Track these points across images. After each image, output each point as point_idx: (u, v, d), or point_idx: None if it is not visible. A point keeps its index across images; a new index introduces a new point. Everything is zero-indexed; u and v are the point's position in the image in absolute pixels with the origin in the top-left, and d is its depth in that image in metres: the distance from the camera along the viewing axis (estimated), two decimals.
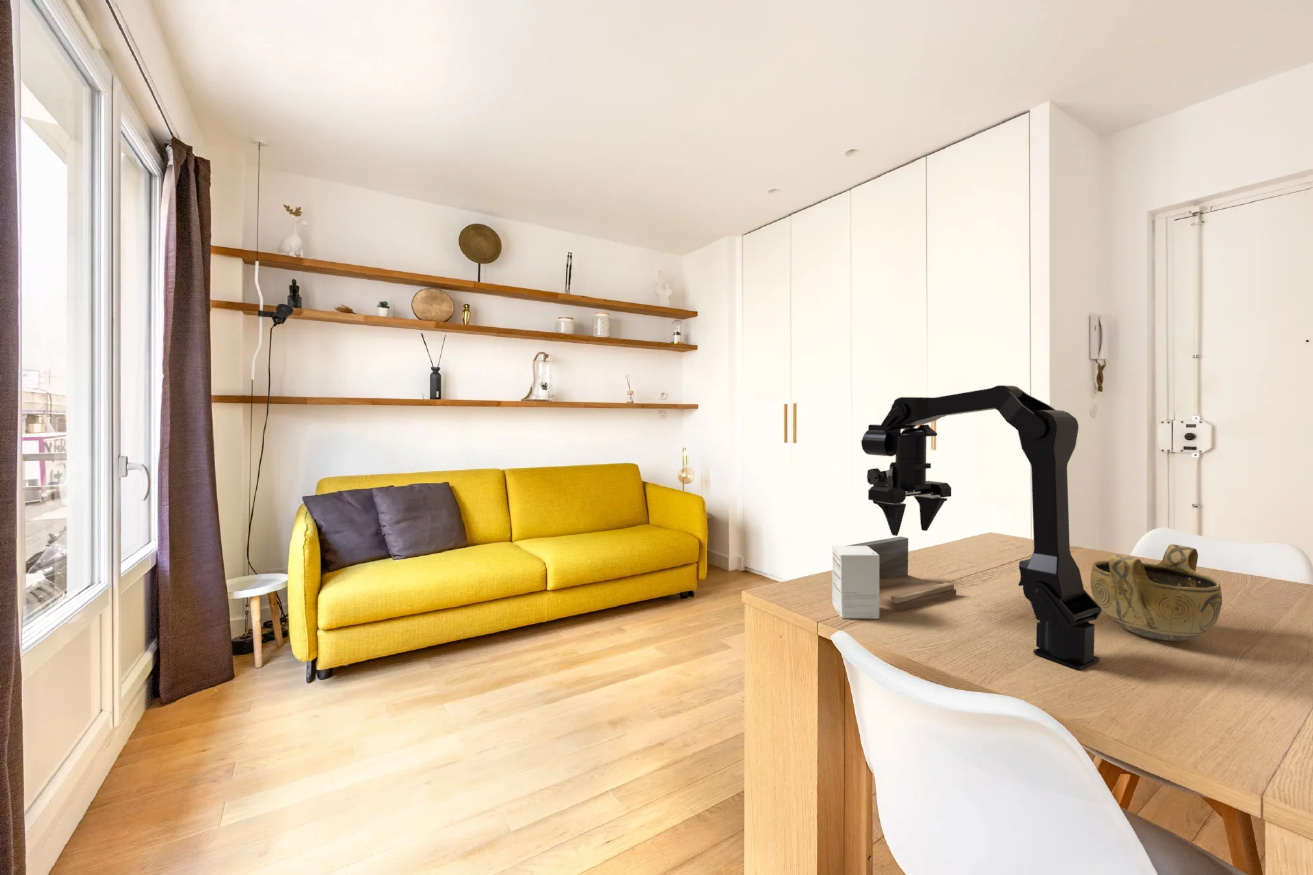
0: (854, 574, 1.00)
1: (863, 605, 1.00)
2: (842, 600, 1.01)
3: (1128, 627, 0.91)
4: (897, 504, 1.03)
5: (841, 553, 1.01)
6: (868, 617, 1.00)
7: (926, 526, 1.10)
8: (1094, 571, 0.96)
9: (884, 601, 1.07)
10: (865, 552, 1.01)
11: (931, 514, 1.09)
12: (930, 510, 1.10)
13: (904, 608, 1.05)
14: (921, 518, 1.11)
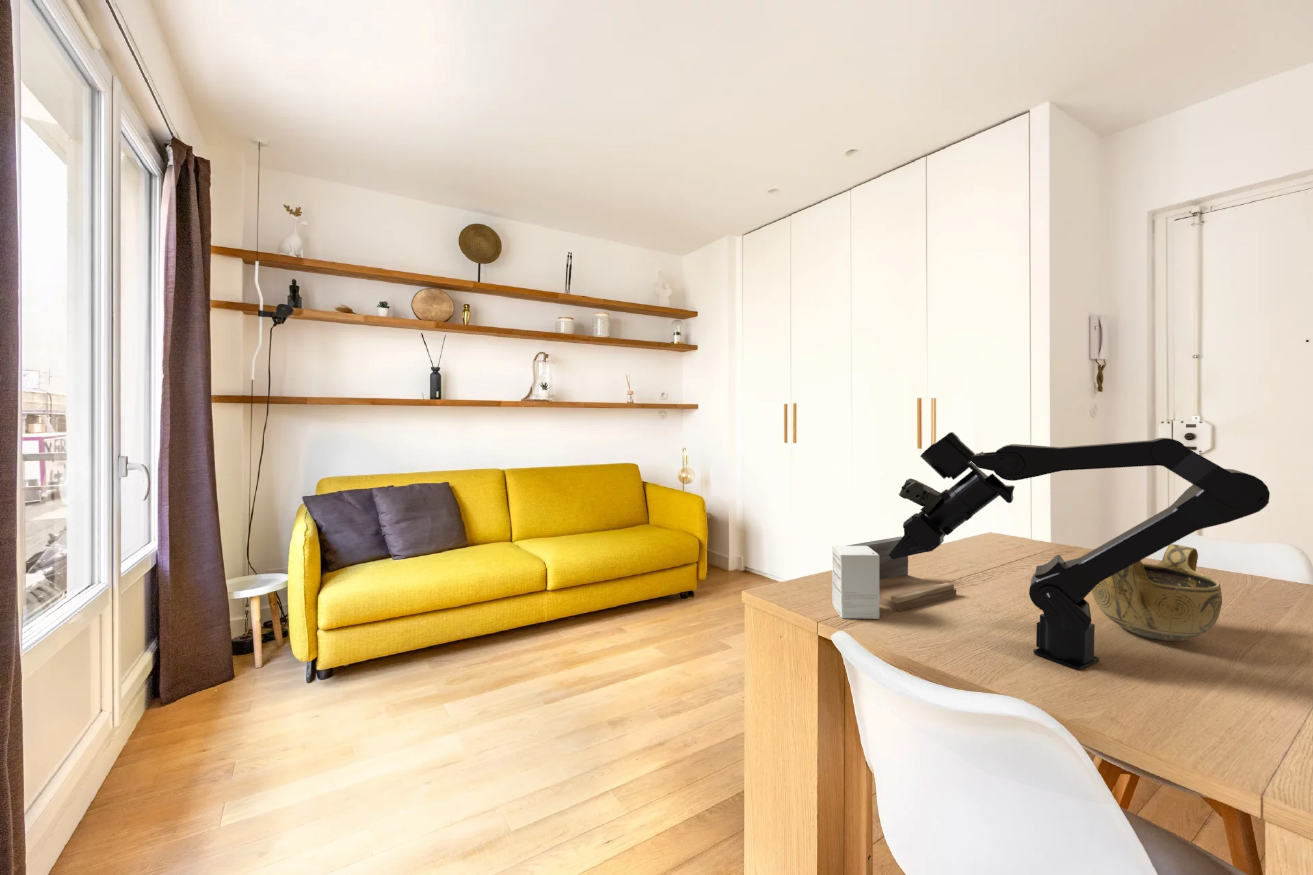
0: (854, 574, 1.00)
1: (863, 605, 1.00)
2: (842, 600, 1.01)
3: (1128, 627, 0.91)
4: None
5: (841, 553, 1.01)
6: (868, 617, 1.00)
7: None
8: None
9: (884, 601, 1.07)
10: (865, 552, 1.01)
11: None
12: None
13: (904, 608, 1.05)
14: None
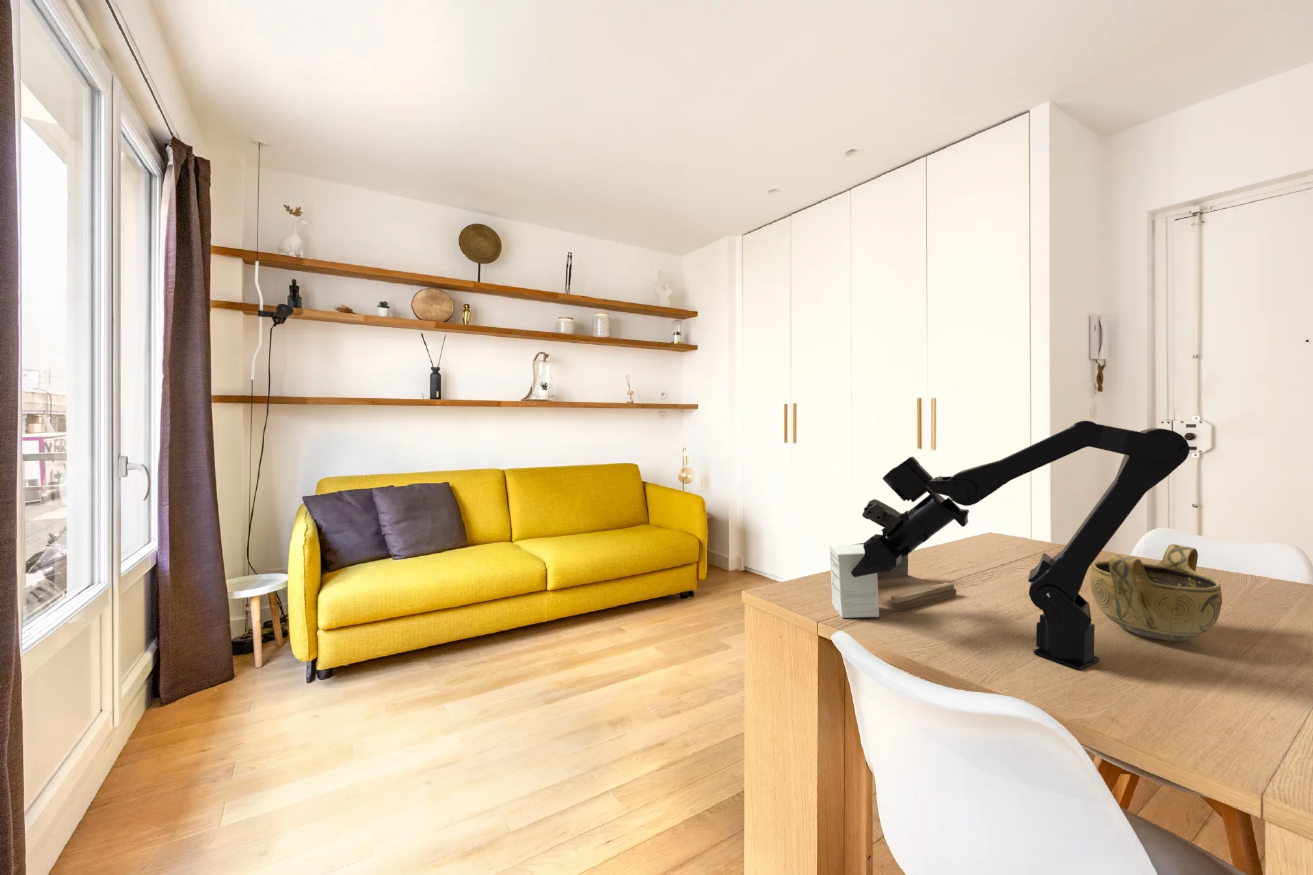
0: None
1: (862, 604, 1.00)
2: (841, 600, 1.01)
3: (1128, 627, 0.91)
4: None
5: (838, 553, 1.01)
6: (867, 616, 1.00)
7: None
8: (1094, 571, 0.96)
9: (884, 601, 1.07)
10: (862, 550, 1.02)
11: None
12: None
13: (904, 608, 1.05)
14: None
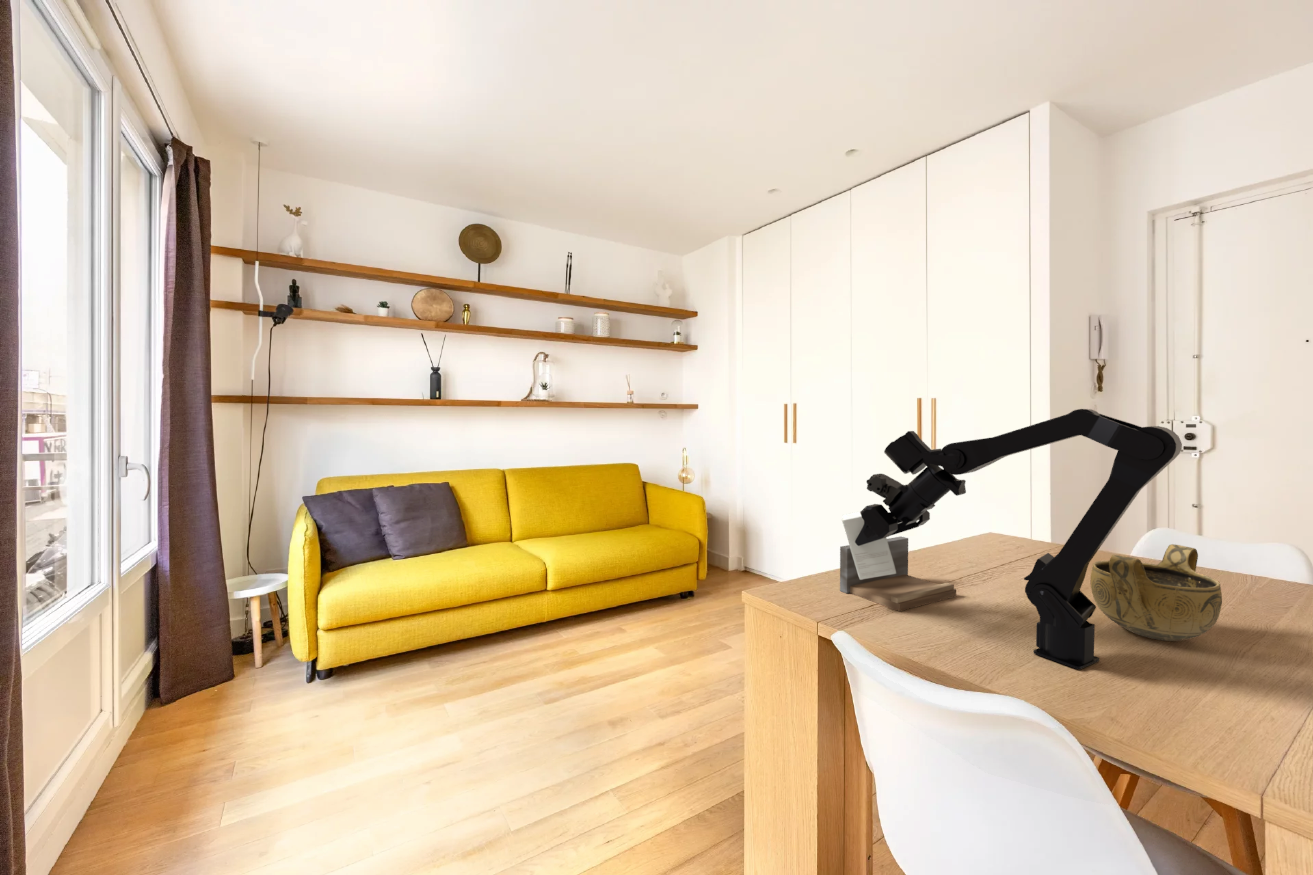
0: None
1: (876, 563, 1.05)
2: (855, 562, 1.06)
3: (1128, 627, 0.91)
4: None
5: (843, 519, 1.08)
6: (885, 574, 1.04)
7: None
8: (1094, 571, 0.96)
9: (884, 601, 1.07)
10: None
11: (896, 531, 1.09)
12: (898, 528, 1.09)
13: (904, 608, 1.05)
14: None
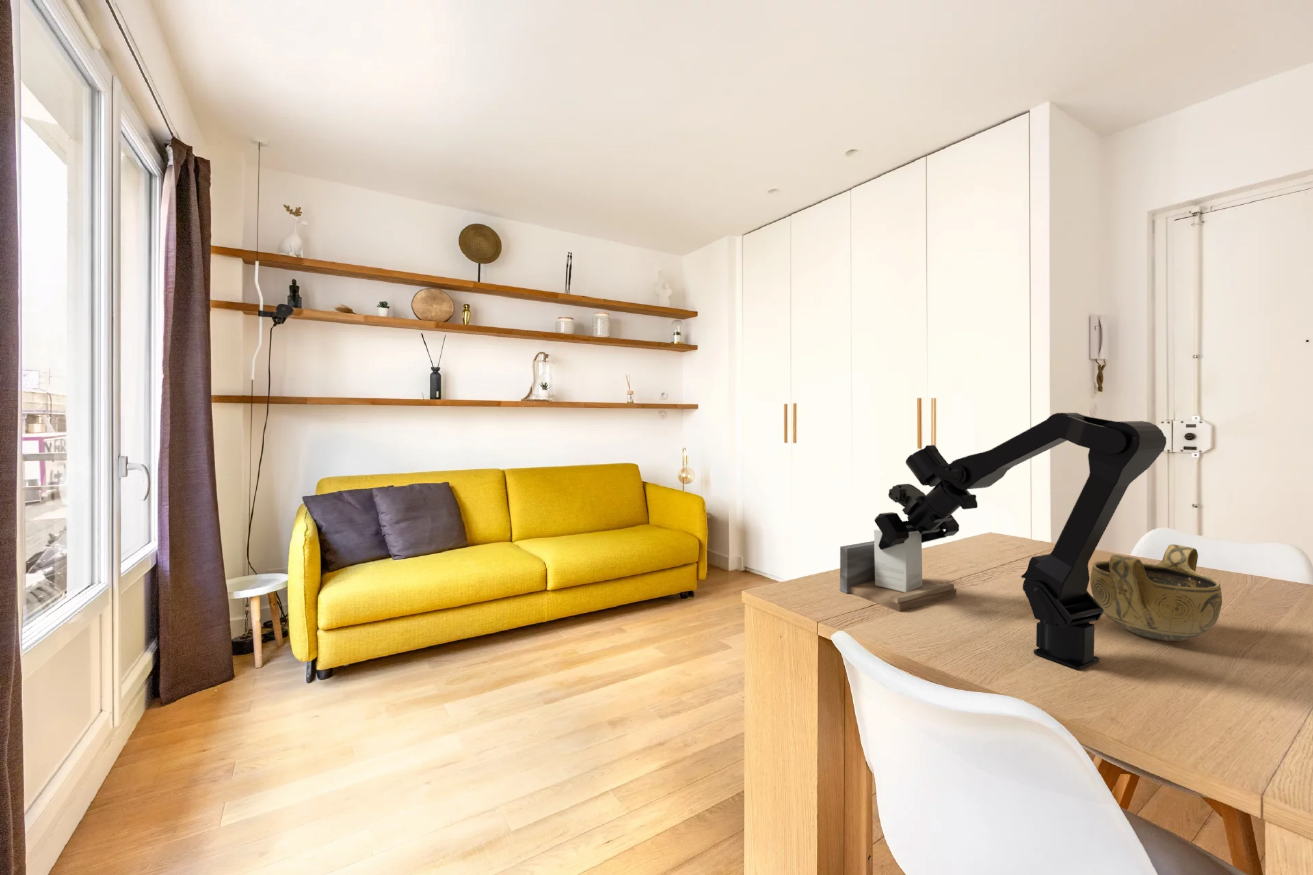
0: None
1: (892, 577, 1.12)
2: (875, 569, 1.15)
3: (1128, 627, 0.91)
4: None
5: (877, 529, 1.15)
6: (896, 589, 1.12)
7: None
8: (1094, 571, 0.96)
9: (884, 601, 1.07)
10: None
11: (923, 540, 1.14)
12: (924, 537, 1.14)
13: (904, 608, 1.05)
14: None
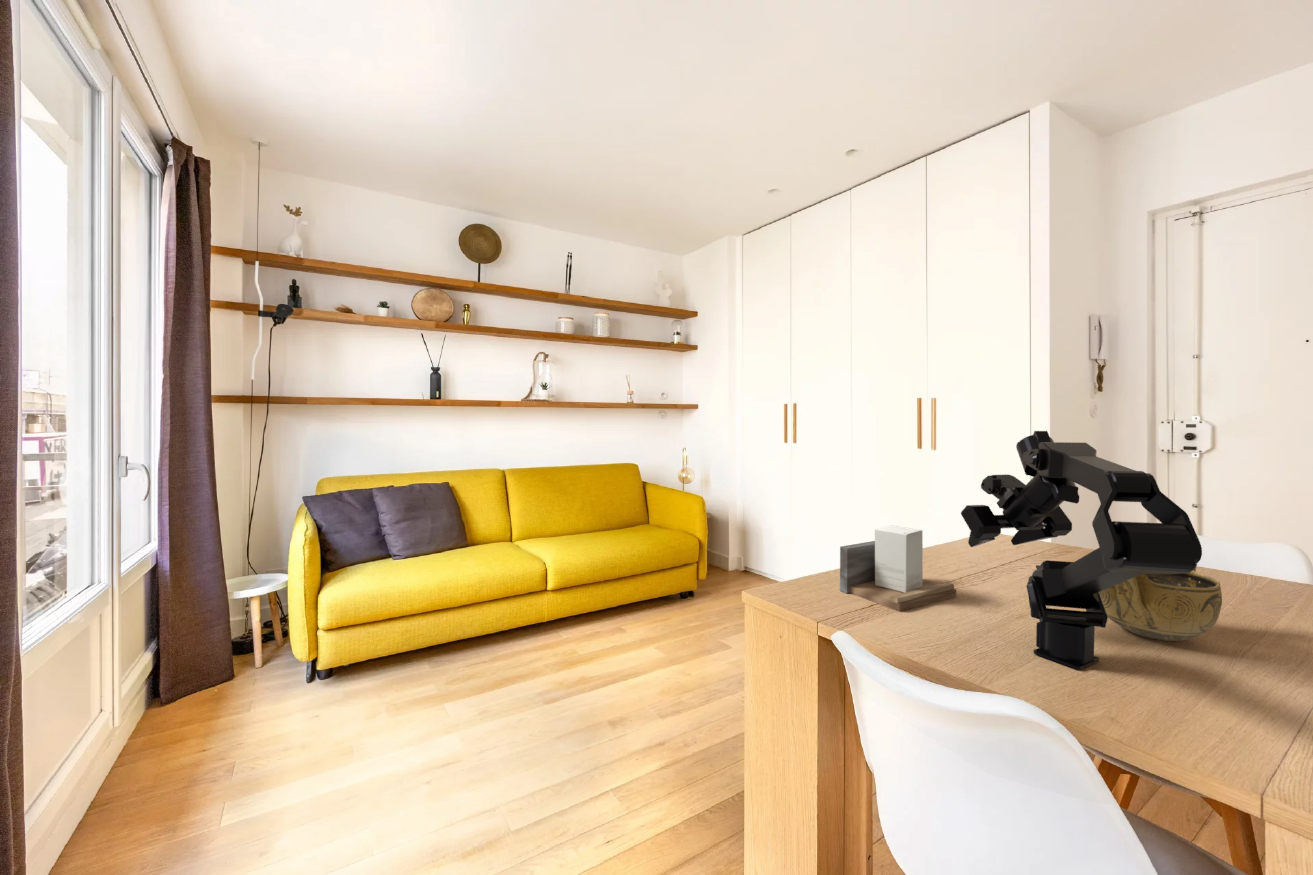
0: (885, 548, 1.13)
1: (892, 577, 1.12)
2: (875, 569, 1.15)
3: (1128, 627, 0.91)
4: None
5: (878, 529, 1.16)
6: (896, 589, 1.12)
7: (1016, 543, 1.02)
8: None
9: (884, 601, 1.07)
10: (900, 531, 1.12)
11: (1028, 539, 1.00)
12: (1030, 535, 1.00)
13: (904, 608, 1.05)
14: (1017, 533, 1.02)
